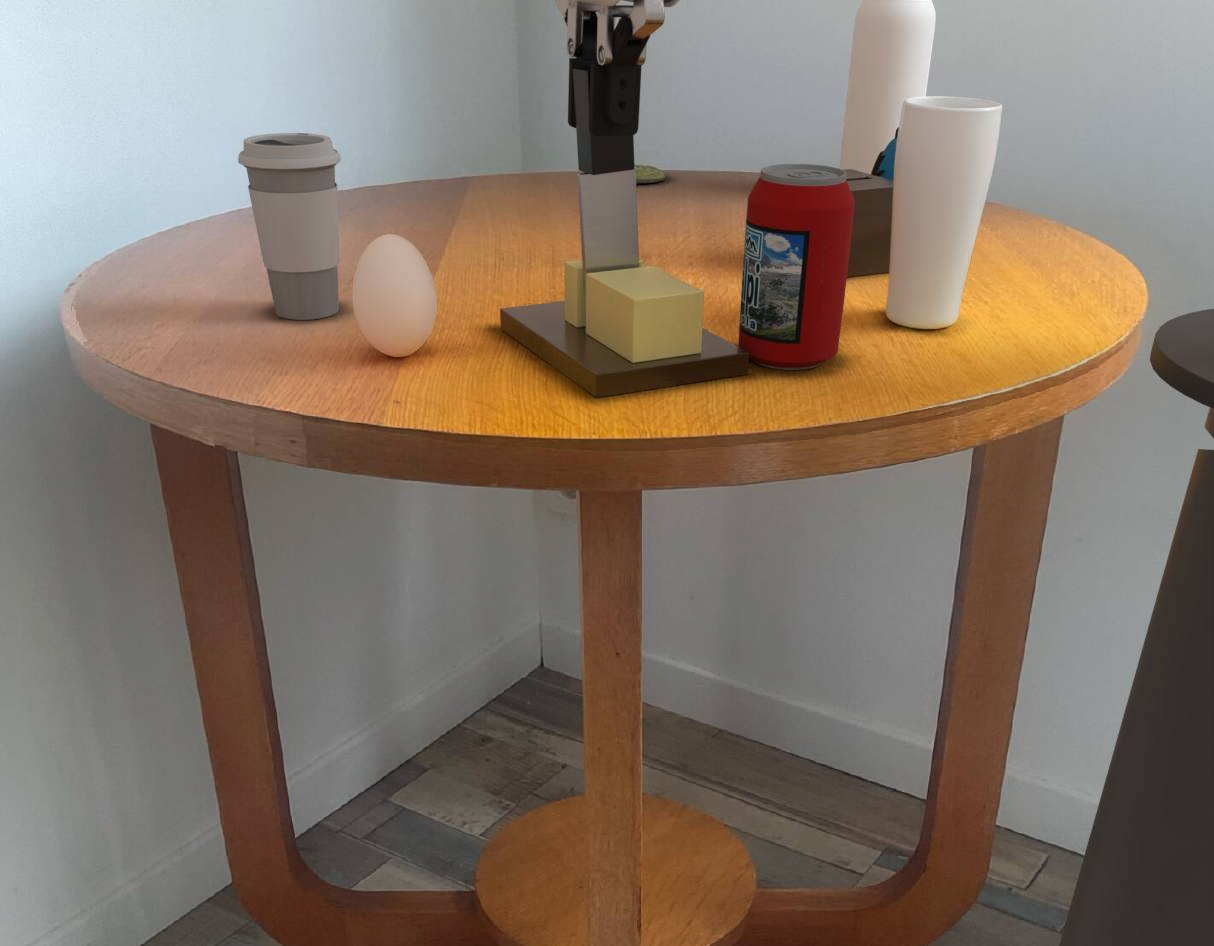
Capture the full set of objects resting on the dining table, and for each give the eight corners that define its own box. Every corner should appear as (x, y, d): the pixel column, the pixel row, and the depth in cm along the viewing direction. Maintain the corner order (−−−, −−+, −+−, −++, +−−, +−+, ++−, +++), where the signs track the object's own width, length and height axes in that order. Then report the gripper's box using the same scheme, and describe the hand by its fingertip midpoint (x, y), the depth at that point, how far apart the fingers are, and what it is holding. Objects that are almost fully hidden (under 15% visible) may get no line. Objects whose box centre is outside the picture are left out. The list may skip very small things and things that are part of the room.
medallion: (676, 174, 139) (676, 168, 139) (648, 186, 133) (649, 179, 133) (613, 168, 142) (613, 162, 142) (583, 179, 136) (583, 172, 136)
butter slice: (641, 319, 84) (643, 260, 82) (576, 327, 82) (576, 268, 80) (628, 312, 86) (629, 254, 83) (564, 320, 84) (564, 261, 82)
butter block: (701, 353, 78) (705, 290, 75) (632, 363, 76) (634, 299, 74) (651, 324, 83) (652, 265, 81) (585, 333, 81) (585, 273, 79)
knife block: (897, 271, 102) (909, 184, 99) (829, 279, 100) (838, 191, 96) (842, 250, 109) (851, 168, 105) (776, 258, 106) (783, 174, 102)
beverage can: (720, 349, 83) (730, 165, 77) (805, 339, 85) (822, 159, 79) (766, 379, 78) (782, 184, 72) (856, 368, 80) (879, 177, 74)
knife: (647, 323, 82) (638, 65, 74) (594, 333, 81) (579, 71, 73) (632, 316, 84) (622, 63, 76) (580, 325, 83) (564, 69, 74)
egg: (391, 374, 78) (380, 248, 74) (341, 355, 81) (328, 233, 77) (456, 356, 81) (450, 235, 77) (406, 338, 85) (397, 221, 81)
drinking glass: (864, 326, 88) (891, 104, 81) (887, 304, 94) (914, 93, 86) (957, 339, 86) (994, 111, 78) (975, 315, 91) (1012, 99, 83)
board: (748, 374, 79) (749, 352, 78) (596, 398, 74) (596, 374, 74) (636, 311, 91) (636, 291, 90) (500, 328, 87) (499, 308, 86)
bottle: (867, 205, 126) (907, -135, 111) (821, 191, 132) (853, -133, 117) (927, 198, 130) (974, -133, 114) (880, 185, 136) (918, -131, 120)
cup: (368, 302, 92) (353, 134, 86) (335, 327, 87) (316, 149, 81) (281, 296, 93) (260, 130, 87) (242, 320, 88) (217, 144, 82)
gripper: (750, -230, 62) (717, 151, 72) (612, -212, 74) (600, 111, 84) (619, -244, 59) (604, 155, 69) (499, -223, 71) (500, 113, 81)
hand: (602, 128), depth 76 cm, fingers closed on knife, 2 cm apart
